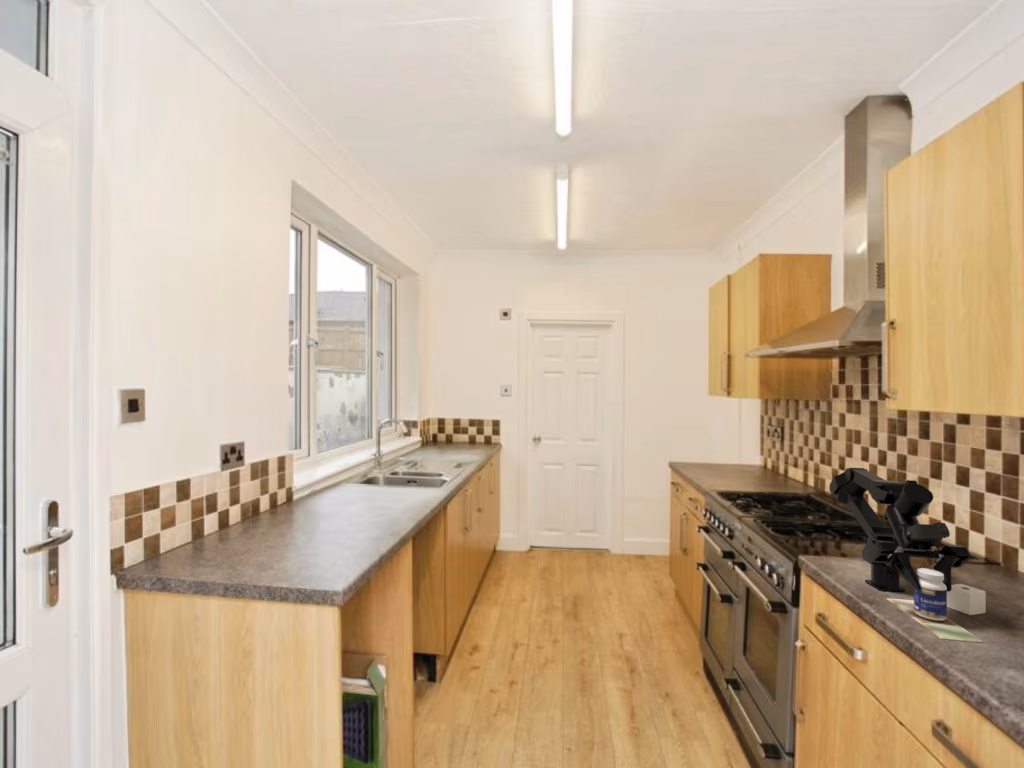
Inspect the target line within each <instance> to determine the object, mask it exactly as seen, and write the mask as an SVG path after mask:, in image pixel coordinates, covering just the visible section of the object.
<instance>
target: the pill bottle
mask: <svg viewBox="0 0 1024 768" xmlns="http://www.w3.org/2000/svg"><path fill="white" fill-rule="evenodd" d="M916 576H918V577H917V579H918V581H919V584H920V589H916V588H915V587H914V586H913V600H914V612H915V613H916V614H917V615H919V616H921V617H923V618H926V619H930V620H937V621H943V620H945V619H946V617H947V613H948V610H947V608H948V607H947V587H946V585H945V584H944V583H943V582H942V581H943V580H944V574H943V573H941V572H939V571H936V570H934V569H933V568H932V569H931V568H930V569H926V568H923V567H921V568H919V569H917V574H916ZM947 618H948V617H947Z"/></svg>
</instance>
